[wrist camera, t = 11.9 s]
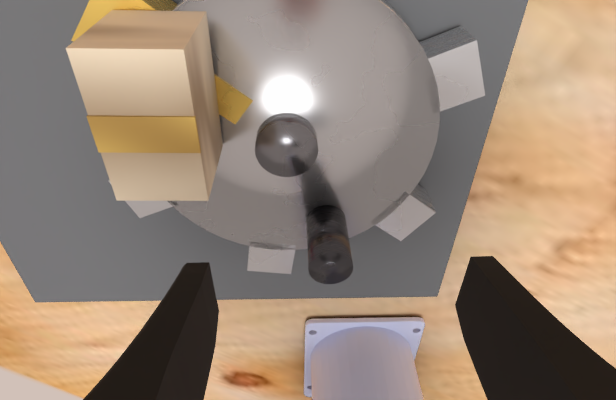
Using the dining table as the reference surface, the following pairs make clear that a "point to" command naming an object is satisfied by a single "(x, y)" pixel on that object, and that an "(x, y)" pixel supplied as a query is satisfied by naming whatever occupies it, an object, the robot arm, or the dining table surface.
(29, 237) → the mat
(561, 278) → the dining table surface
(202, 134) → the banded wooden block
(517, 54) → the dining table surface
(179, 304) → the robot arm
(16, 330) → the dining table surface
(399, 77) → the sprocket
